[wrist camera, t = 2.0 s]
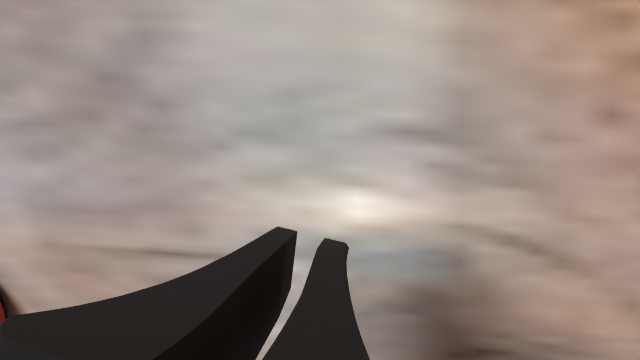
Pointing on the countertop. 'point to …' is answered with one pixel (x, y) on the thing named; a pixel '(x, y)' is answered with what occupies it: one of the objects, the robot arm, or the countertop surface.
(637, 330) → the countertop surface
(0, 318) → the citrus juicer
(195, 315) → the robot arm
